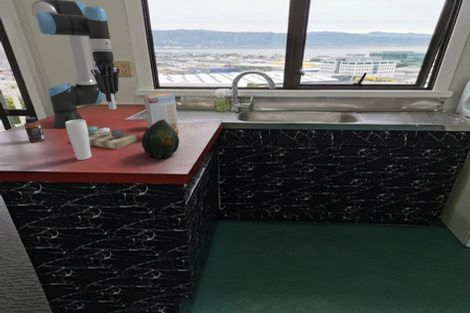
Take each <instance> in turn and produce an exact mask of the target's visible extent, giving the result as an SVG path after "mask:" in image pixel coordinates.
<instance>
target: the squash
mask: <svg viewBox="0 0 470 313" xmlns="http://www.w3.org/2000/svg"><path fill="white" fill-rule="evenodd" d="M178 135H179V134H177V133H176V131H175V130H174V129H173V128H172V127H171V126H170V125H169V124H168V123H167V122H166V121H165V120H164V119H163V120H159V121H157V122H156V123H154V124H153V125H152V126H150V127H149V128H148V127H147V129H146V130H145V131H144V133H143V134H142V137H141V146H142V148H143V150H144V152H145V153H147V154H148V155H151V156H154V157H155V158H156V159H161V158H163V157H165V158H166V157H169V156H171V154H174V153H175V152H177V151H178V149H179V145H180V139H179V136H178Z"/></svg>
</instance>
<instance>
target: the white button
mask: <svg viewBox="0 0 470 313" xmlns="http://www.w3.org/2000/svg"><path fill="white" fill-rule="evenodd" d="M97 129H98V133H99V135H106V134H110V132H111V130H110V127H103V128H102V127H101V128H97Z"/></svg>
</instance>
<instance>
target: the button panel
mask: <svg viewBox="0 0 470 313" xmlns="http://www.w3.org/2000/svg"><path fill="white" fill-rule="evenodd" d="M123 134H124V135H122V136H118V137H113V136H112V134H111V131H110V134H106V135H99V133H98V131H97V132H95V133H88V135H89V143H90V146H94V147H95V146H97V147H103V148H107V149H108V148H109V149H114V150H119V149H121V148H124V147H126V146H129V145H131V144H134V143H136V142H137V141H138V140H137V135H136V134H130V133H123Z"/></svg>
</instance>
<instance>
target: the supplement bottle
mask: <svg viewBox="0 0 470 313" xmlns="http://www.w3.org/2000/svg"><path fill="white" fill-rule="evenodd" d="M24 120H25V123H23V126H24V128H25V131H26V134H27V138H28V141H29V142H30V143H40V142H43V141H45V140H46V139H45V135H44V132H43V129H42V125H41V122H39V121H37V118H36V117H34V116H32V117H31V116H30V117H25V118H24Z"/></svg>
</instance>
